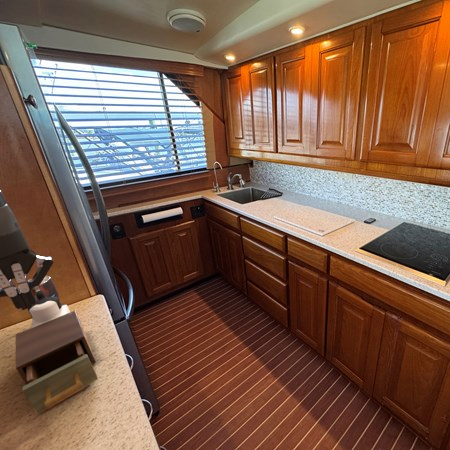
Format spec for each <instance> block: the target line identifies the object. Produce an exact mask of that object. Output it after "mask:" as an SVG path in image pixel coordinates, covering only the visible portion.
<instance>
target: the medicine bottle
mask: <svg viewBox="0 0 450 450" xmlns="http://www.w3.org/2000/svg"><path fill="white" fill-rule="evenodd" d="M59 299H60V297H59V298H58V297H47V298H43V299H40V300H38V301H36V302H35V304H33V307H31V308H28V309H27V311H28V314H29V315H30V317H31V318H32V321H31V326H30V328H33V327H35V326H38V325H40V324H43V323H45V322H48V321H50V320H53V319H55V318H58V317H60V316H63V315H65V314H68V313H70V312H71V311H70V308H69V306H68V305H67V304H63V305H62V303H61V300H60V301H59Z"/></svg>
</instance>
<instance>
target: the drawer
mask: <svg viewBox="0 0 450 450" xmlns="http://www.w3.org/2000/svg"><path fill="white" fill-rule="evenodd" d="M26 373H27V382H28V384H27V385H26V384H25V385H23V386H22V389H21V391H22V393H23V394H24V396H25V397H26V399H27V400H28V402H29V404H30V405H31V406H32V408H33V410H34V411H35V413H36V414H37V415H39V414H41V413H42V412H44V411H46V410H49V409H50V408H52V407H53V406H55V405H57V404H60V402H62V401H65V400H66V399H67V398H69V397H71V396H73V395H74V394H76V393H78V392H79V391H81V390H83V389H84V388H86V387H87V386H89V385H90V384H92V383H94V382H96V381H97V380H99V377H98V375H97V373H96V370H95V368H94V366H93V364H91V362H90V360H89V357H88V355H87V354H86V353H85V350H84V348H83V346H82V343H81V341H78V342H76V343H74V344H71V345H69V346H67V347H65V348H63V349H61V350H59V351H57V352H55V353H52V354H50V355H48V356H46V357H44V358H42V359H40V360H38V361H36V362H33V363H31V364H29V365H27V366H26Z"/></svg>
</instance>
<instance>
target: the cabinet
mask: <svg viewBox="0 0 450 450" xmlns="http://www.w3.org/2000/svg"><path fill="white" fill-rule="evenodd" d="M78 341H81V343H82V346H83V348H84V350H85V353H86V354H87V355H88V357H89V360H90V362H91V364H92V365H94V364H95V363H97V361H96V359H95V356H94V352H93V350H92V348H91V345H90V342H89V339H88V336H87V333H86V332H85V330H84V327H83V325H82V322H81V320H80V318H79V315H78V314H77V311H76V310H73V311H70V313H68V314H65V315H63V316H60V317H58V318H55V319H53V320H50V321H48V322H45V323H43V324H40V325H38V326H35V327H33V328H31V327H30V328H28V329H26V330H23V331H21V332H18V333H15V369H16V371H17V373H18V374H19V376H20V377H21V379H22V380H23V382H24V384H25V385H27V384H28V382H27V373H26V366H27V365H29V364H31V363H33V362H36V361H38V360H40V359H42V358H44V357H46V356H48V355H50V354H52V353H55V352H57V351H59V350H61V349H63V348H65V347H67V346H69V345H71V344H74V343H76V342H78Z"/></svg>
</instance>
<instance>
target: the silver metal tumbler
mask: <svg viewBox="0 0 450 450" xmlns="http://www.w3.org/2000/svg"><path fill="white" fill-rule="evenodd" d="M31 279H32V278H30V279H27V280H28V281H30V280H31ZM56 286H57V285H55V282H54V281H53V279H52V278H51V276H49V275H46V276H45V277H44V279H43V281H42V282H41V284H40V285H39V286H35V287H34V288H32V289H31V290H32V292H33V294H34V296H35V299H36V301H38V300H40V299H43V298H47V297H58V298H59V301H60V302H61V300H60V294H59V290H58V288H57V287H56ZM17 289H18V291H20V288H19V286H17Z"/></svg>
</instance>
